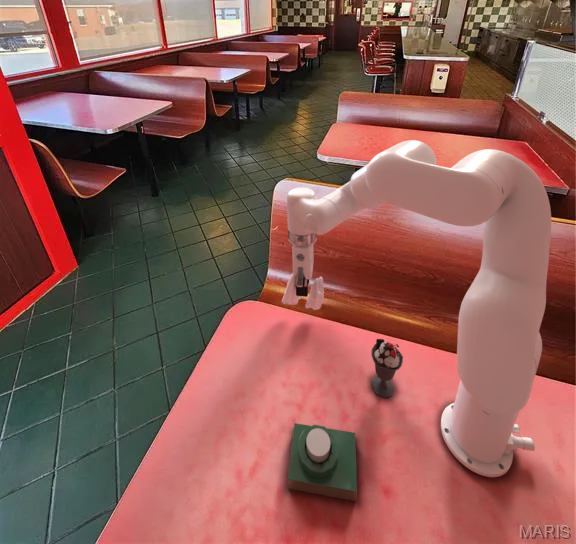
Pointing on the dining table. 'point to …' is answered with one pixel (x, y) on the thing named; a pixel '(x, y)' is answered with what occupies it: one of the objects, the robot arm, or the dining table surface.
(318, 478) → the button base
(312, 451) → the white button cap
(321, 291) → the shaker set
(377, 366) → the sundae
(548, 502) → the dining table surface
